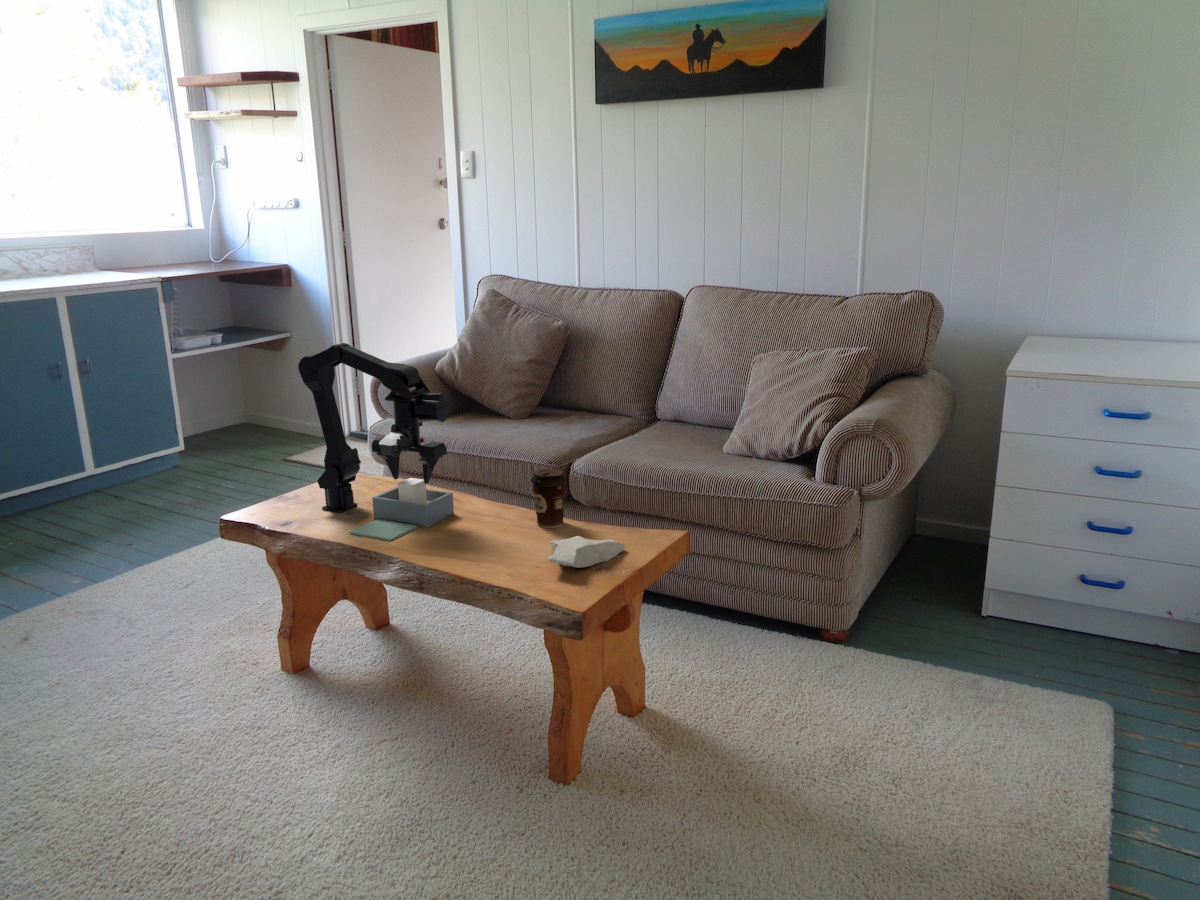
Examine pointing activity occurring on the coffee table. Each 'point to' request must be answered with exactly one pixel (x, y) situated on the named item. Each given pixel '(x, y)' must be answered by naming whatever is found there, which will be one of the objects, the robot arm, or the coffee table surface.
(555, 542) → the rock
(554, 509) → the coffee cup
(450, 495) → the slot box
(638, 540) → the coffee table surface
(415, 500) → the block
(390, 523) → the board
